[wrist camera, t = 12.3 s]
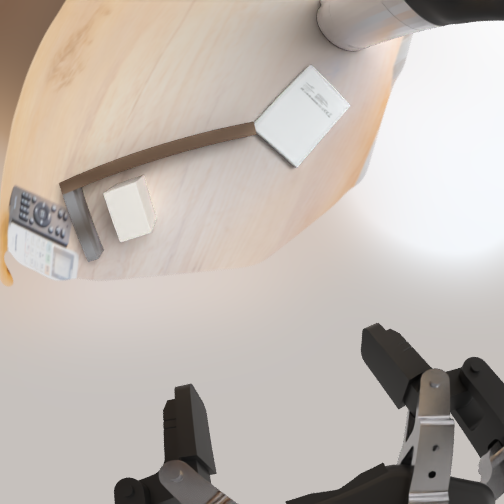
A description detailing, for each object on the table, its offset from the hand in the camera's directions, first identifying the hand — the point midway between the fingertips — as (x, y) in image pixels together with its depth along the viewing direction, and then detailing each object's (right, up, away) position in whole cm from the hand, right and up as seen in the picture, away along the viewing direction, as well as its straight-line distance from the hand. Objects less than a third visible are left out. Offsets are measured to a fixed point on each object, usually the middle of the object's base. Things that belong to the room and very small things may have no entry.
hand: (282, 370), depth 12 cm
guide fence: (-13, +13, +23) cm, 29 cm away
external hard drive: (+5, +24, +23) cm, 34 cm away
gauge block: (-16, +12, +22) cm, 30 cm away
